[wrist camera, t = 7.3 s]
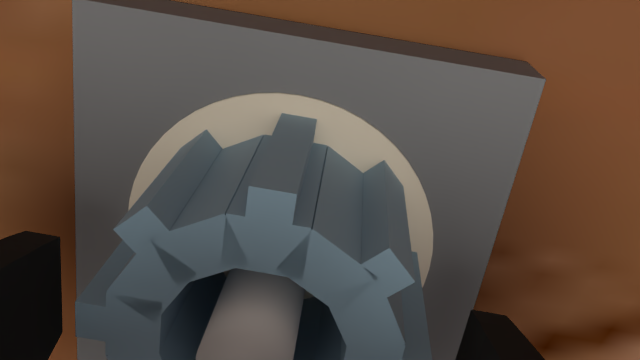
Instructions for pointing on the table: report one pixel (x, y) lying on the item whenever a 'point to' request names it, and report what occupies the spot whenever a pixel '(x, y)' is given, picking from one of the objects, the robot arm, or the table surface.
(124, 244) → the slate gear
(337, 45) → the gear board
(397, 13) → the table surface
